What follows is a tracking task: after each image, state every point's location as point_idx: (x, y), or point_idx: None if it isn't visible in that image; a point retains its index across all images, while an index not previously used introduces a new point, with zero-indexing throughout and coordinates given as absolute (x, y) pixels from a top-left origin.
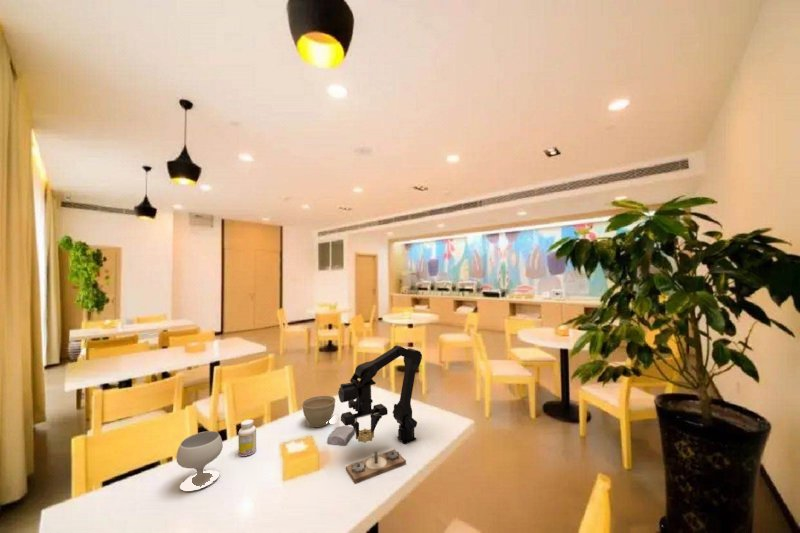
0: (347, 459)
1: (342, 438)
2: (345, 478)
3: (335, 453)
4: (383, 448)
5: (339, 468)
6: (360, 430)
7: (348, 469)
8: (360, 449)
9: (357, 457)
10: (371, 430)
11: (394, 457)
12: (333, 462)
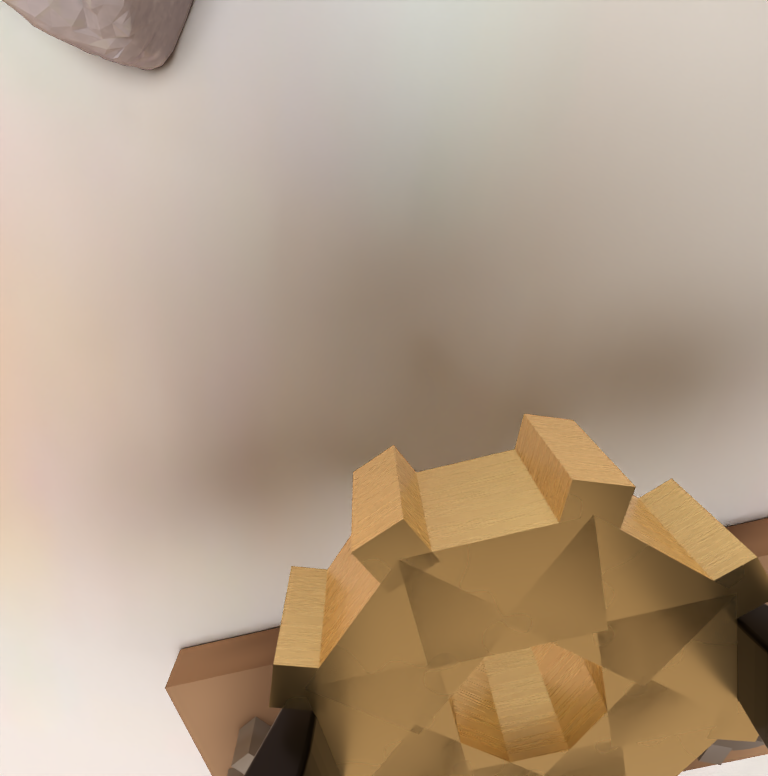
0: (198, 472)
1: (22, 7)
2: (179, 743)
3: (4, 274)
4: (723, 371)
5: (105, 604)
6: (439, 558)
7: (196, 738)
8: (403, 289)
9: (331, 467)
10: (746, 665)
11: (735, 741)
12: (12, 482)
